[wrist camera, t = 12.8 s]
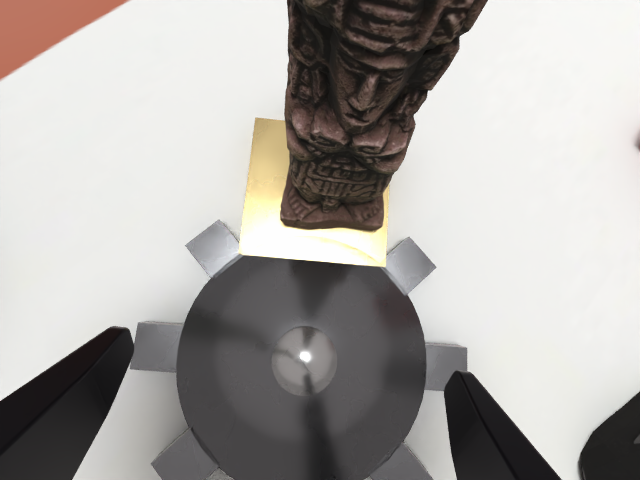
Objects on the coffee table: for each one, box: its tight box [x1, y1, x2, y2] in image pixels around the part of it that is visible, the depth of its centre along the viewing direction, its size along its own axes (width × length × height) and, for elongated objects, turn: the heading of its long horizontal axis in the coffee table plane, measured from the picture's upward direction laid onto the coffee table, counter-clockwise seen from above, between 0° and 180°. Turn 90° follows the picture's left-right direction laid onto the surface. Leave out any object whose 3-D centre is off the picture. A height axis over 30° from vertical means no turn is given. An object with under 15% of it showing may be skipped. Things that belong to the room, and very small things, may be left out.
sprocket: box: [130, 118, 467, 480], centre depth 21 cm, size 27×21×2 cm
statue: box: [280, 0, 488, 231], centre depth 13 cm, size 7×7×20 cm
